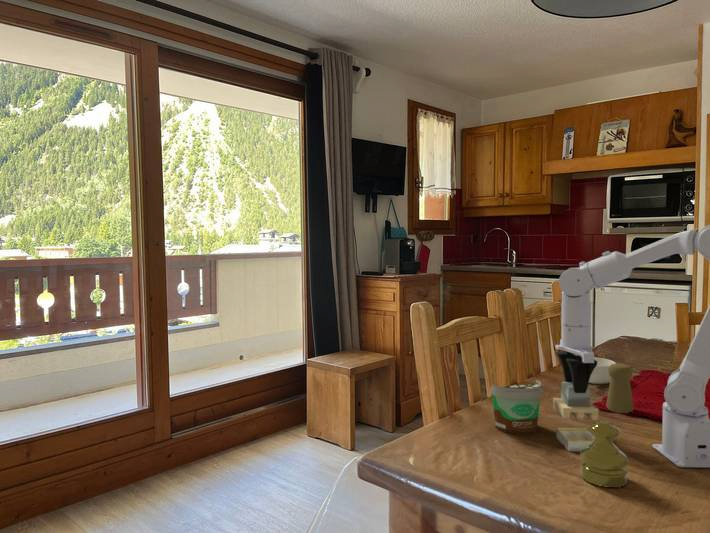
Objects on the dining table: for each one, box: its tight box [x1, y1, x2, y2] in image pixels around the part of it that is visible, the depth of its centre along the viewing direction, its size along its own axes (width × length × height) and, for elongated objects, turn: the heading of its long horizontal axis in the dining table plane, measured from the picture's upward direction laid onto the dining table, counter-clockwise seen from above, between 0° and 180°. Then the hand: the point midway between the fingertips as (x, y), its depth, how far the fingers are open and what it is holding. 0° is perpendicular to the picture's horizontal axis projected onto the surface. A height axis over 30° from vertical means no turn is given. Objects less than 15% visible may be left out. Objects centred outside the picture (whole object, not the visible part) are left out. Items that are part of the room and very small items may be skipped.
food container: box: [489, 379, 545, 435], centre depth 111 cm, size 12×6×10 cm, turn 105°
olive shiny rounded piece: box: [579, 420, 629, 488], centre depth 88 cm, size 7×7×10 cm
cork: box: [605, 362, 635, 414], centre depth 124 cm, size 6×6×11 cm
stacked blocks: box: [552, 381, 600, 422], centre depth 108 cm, size 7×7×6 cm
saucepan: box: [588, 356, 617, 385], centre depth 147 cm, size 12×20×6 cm, turn 142°
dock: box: [555, 427, 595, 452], centre depth 104 cm, size 7×6×2 cm
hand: (575, 389), depth 108 cm, fingers closed on stacked blocks, 4 cm apart
